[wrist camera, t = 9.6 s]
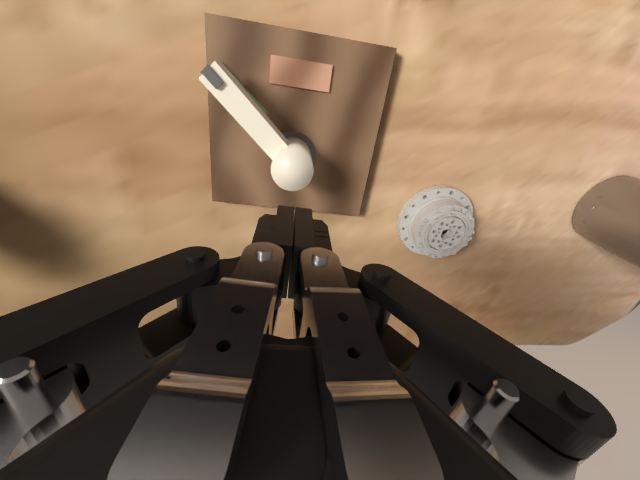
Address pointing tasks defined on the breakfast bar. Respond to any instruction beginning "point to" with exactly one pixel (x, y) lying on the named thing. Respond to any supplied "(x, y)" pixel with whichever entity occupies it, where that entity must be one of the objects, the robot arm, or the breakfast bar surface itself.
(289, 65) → the board
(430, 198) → the mechanical component
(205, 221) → the breakfast bar surface
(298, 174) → the peg
